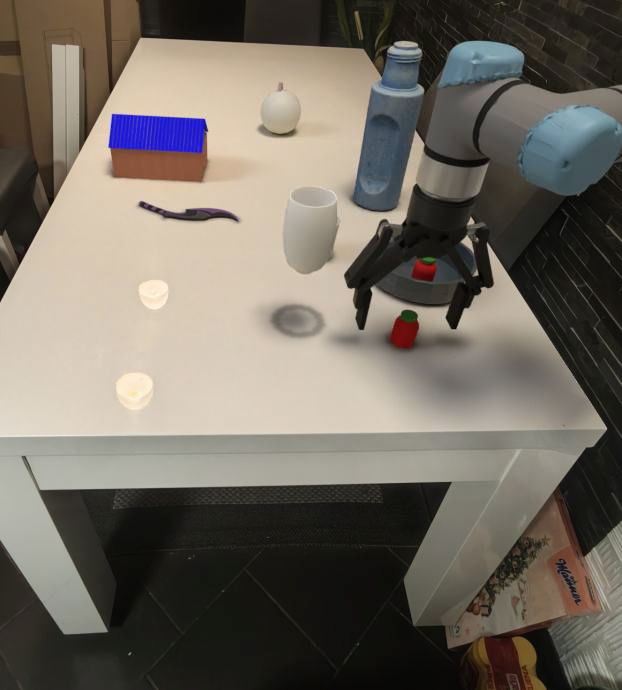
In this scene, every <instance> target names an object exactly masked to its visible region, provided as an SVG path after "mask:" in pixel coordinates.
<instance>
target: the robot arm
mask: <svg viewBox="0 0 622 690" xmlns="http://www.w3.org/2000/svg"><path fill="white" fill-rule="evenodd" d="M524 63H525V55H524V53H523V52H522V51H521V50H519V49H518V48H517V47H515V46H513V45H510V44H506V43H501V42H496V41H488V40H470V41H464V42H463V41H462V42H461V43H458V44H456V45H455V46H454V47H452V49H451V50H450V51H449V53H448V56H447V58H446V62H445V65H444V68H443V71H442V74H441V77H440V80H439V82H438V83H437V92H436V96H435V101H434V105H433V109H432V113H431V117H430V120H429V124H428V125H429V126H428V130H427V133H426V138H425V142H424V145H423V149H422V151H421V152H422V153H421V157H420V160H419V164H418V168H417V171H416V172H417V173H416V175H415V182H416V183H415V184H414V185H413V187H412V191H411V195H410V198H409V203H408V205H407V210H406V217H405V219H404V220H403V222H402V223H401V224H397V223H391V222H389V220H388V219H387V218H383V219H381V220H379V223H378V225H377V228H376V230H375V234H374V235H373V236H372V238H371V239H369V241H368V243H367V244H366V245H365V247H364V248H363V249H362V250H361V252H360V253H359V254H358V256H357V257H356V258H355V259H354V260H353V262H352V263H351V264H350V266H349V267H348V268H347V269H346V271H345V272H344V273H343V278H344V282H345V285H346V287H347V289H350V290H353V289H354V291H353V296H352V303H353V306H354V309H355V310H356V313H355V317H354V320H355V322H356V326H357V329H358V331H365V328H366V324H367V319H368V317H369V316H368V315H369V311H370V308H371V307H370V306H371V302H372V298H373V290H372V288H373V287H374V286H375V285H378V284H377V283H378V282H379V281H380V280H382V279H383V278H384V277H385V276H387V275H388V274H389V273H390V272H392V271H393V270H394V269H395V268H397V267H398V266H399V265H401V264H402V263H406V262H408V261H409V260H411V259H412V258H413V257H414V256H416V258H427V257H431V258H440V257H441V256H444V255H446V254H448V256H449V257H450V259H451V261H452V262H453V264H454V265H455V267H456V268H457V270H458V271H459V273H460V275H461V276H462V278H463V279H464V281H465V284H464V282H458V284H457V287H456V290H455V292H454V295H453V298H452V301H451V302H449V303H450V304H449V306H448V309H447V311H446V315H445V320H446V322H447V325H448V326H449V328H450V330H457V329H458V326H459V324H460V321H461V319H462V317H463V313H464V311H465V309H470V307H471V306H472V304H473V301H474V298H475V297H477V296H479V295H481V294H482V292H483V290H482V289H483V288H486V289H491V288H493V287H494V285H495V281H494V276H493V270H492V264H491V258H490V254H489V248H488V247H489V246H488V241H489V238H490V233H491V231H490V229H489V228H488V225H486V223H485V222H484V220H483V219H476V220H475V221H474V222H473V223H470V220H471V217H472V214H473V212H474V209H475V206H476V203H477V200H478V198H477V195H478V194H480V192H481V189H482V186H483V183H484V179H485V176H486V173H487V171H488V168H489V165H490V162H491V161H493V162H495V163H497V164H499V165H500V166H502V167H504V168H505V169H507V170H509V171H511V172H512V173H514V174H516V175H518V176H519V177H521V178H523V179H524V180H525V181H526V182H528V183H529V184H531V185H534V186H536V187H537V188H542V189H545V190H548V191H550V192H551V193H554V194H556V195H560V196H564V197H569V196H575V195H578V194H581V193H583V192H585V191H586V190H587V189H588V188H589V186H590V185H595V184H597V182H599V181H600V180H601V179H602V178H603V177H604V176H605V174H606V173H607V172H608V171H609V170H610V168H612V165H613V164H616V163H622V84H618V85H613V86H604V87H598V88H592V89H586V90H580V91H574V92H573V91H572V92H566V93H557V92H552V91H551V90H550V91H549V90H546V89H543V88H541V87H538V86H535V85H533V84H531V83H529V82H527V81H525V80H523V79H520V77H522V74H523V67H524ZM469 223H470V224H469ZM398 235H401V236H402V237H401V238H400V239H399V240H398V241H397V242H395V244H394V246H393V248H391V249H390V250H389V251H388V252H387V253H385V254H384V255H383V256H382V257H381V258H379V257H380V256H381V254H382V253H383V252H384V251H385V249H386V248H387V246H388V245H389V242H393V241H394V239H395V237H396V236H398ZM466 237H468V239H469V240H470V242H471V245H472V252H473V253H474V256H475V261H476V266H477V271H476V272H477V275H475V276H473V275H472V274H471V272H470V271H469V269H468V267H467V266H466V264H465V263H464V261H463V259H462V258H461V256H460V254H459V253H458V251H457V250H456V248H455V246H456V245H457V244H459V243H460V242H462V241H464V239H466ZM406 246H407V247H408V249H407V250H406V251H405V250H404V248H405V247H406ZM378 258H379V259H378ZM377 259H378V260H377Z"/></svg>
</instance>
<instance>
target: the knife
mask: <svg viewBox="0 0 622 690" xmlns="http://www.w3.org/2000/svg"><path fill="white" fill-rule="evenodd" d="M138 205H139V206H141V207H142V208H145V209H148V210H151V211H153V212H156V213H158V214H162V216H163V218H169V217H170V218H176V219H181V220H193V221H194V220H197V221H205V220H207V219H209V218H214V217H215V218H216V217H225V218H231V219H233V220H235V221H237V222H239V218H238V216H236V214H234V213H232V212H230V211H228V210H225V209H221V208H214V207H195V208H185V211H183V212H175V211H170V210H166V209H164V208H161V207H158V206H156V205H153V204H150V203H148V202H146V201H143V200H139V202H138Z"/></svg>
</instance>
